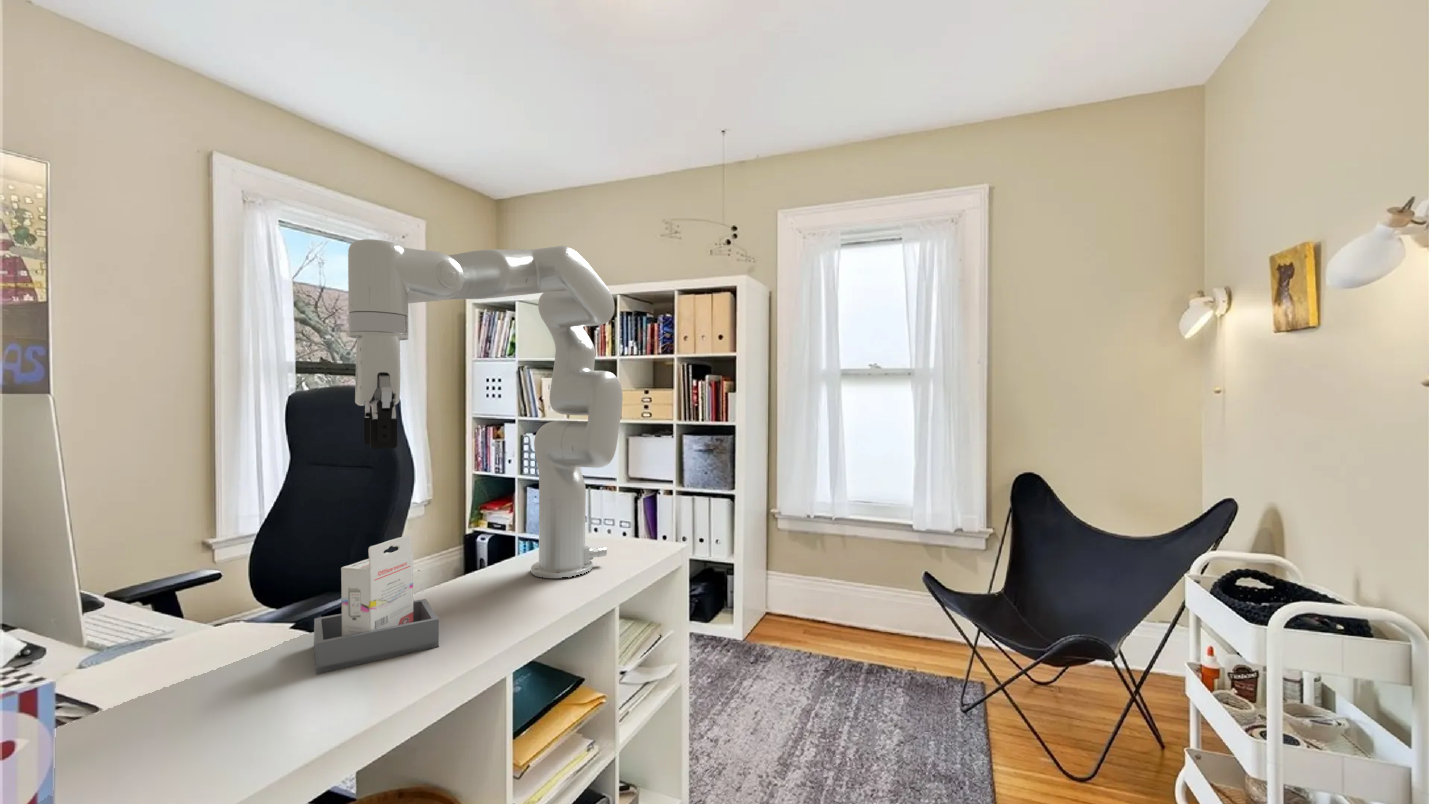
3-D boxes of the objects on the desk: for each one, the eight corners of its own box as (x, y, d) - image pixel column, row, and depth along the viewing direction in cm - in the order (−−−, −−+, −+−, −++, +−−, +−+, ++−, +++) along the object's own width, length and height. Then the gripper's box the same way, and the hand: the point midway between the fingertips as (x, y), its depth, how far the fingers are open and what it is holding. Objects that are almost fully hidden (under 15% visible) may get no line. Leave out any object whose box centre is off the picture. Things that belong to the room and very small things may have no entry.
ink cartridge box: (386, 627, 88) (386, 531, 88) (414, 630, 87) (415, 533, 87) (338, 651, 79) (339, 545, 79) (369, 654, 78) (370, 547, 78)
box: (425, 623, 92) (425, 598, 92) (438, 646, 83) (438, 619, 83) (314, 646, 83) (314, 618, 83) (315, 674, 74) (316, 643, 74)
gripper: (344, 332, 88) (345, 443, 88) (353, 319, 74) (354, 452, 74) (399, 335, 92) (400, 441, 93) (417, 324, 78) (418, 448, 79)
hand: (379, 445), depth 83 cm, fingers open, 9 cm apart
